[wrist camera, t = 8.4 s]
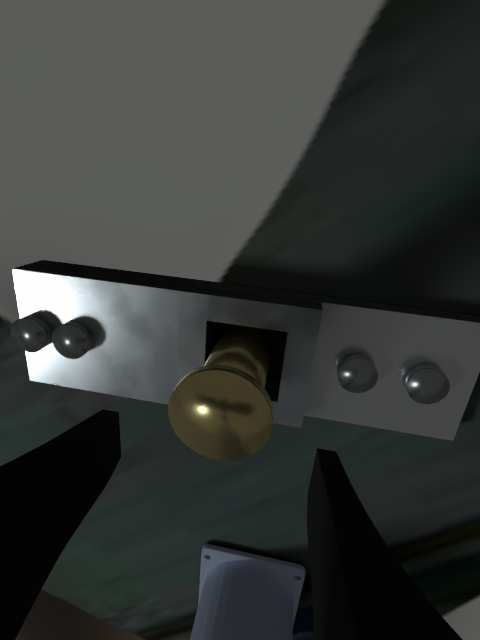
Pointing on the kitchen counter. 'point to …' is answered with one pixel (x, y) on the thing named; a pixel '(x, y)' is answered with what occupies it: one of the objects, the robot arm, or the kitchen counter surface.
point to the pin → (226, 398)
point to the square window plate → (386, 363)
